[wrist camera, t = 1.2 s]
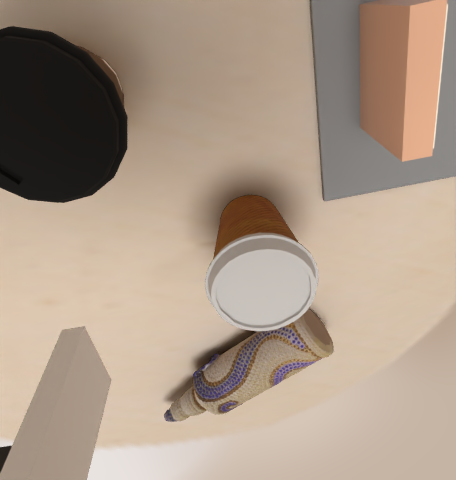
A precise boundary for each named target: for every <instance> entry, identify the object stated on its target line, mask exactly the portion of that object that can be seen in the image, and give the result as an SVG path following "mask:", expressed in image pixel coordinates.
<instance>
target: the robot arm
mask: <svg viewBox="0 0 456 480" xmlns="http://www.w3.org/2000/svg"><path fill="white" fill-rule="evenodd" d="M110 383H111V378H110V376H109V374H108V372H107V370H106V368H105V366H104V364H103V362H102V360H101V358H100V356H99V354H98V352H97V350H96V348H95V346H94V344H93V342H92V340H91V338H90V336H89V334H88V332H87V330H86V328H85V326H84V327H78V328H71V329H65V330H62V331H61V334H60V336H59V338H58V341H57V343H56V345H55V348H54V350H53V352H52V355H51V357H50V359H49V362H48V364H47V366H46V369H45V371H44V373H43V375H42V378H41V380H40V382H39V385H38V387H37V389H36V392H35V394H34V396H33V399H32V401H31V403H30V406H29V408H28V410H27V413H26V415H25V417H24V420H23V422H22V424H21V426H20V429H19V431H18V433H17V436H16V438H15V440H14V443H13V445H12V446H6V447H0V480H87V476H88V472H89V468H90V464H91V460H92V456H93V452H94V448H95V444H96V440H97V436H98V432H99V428H100V424H101V420H102V416H103V411H104V407H105V403H106V399H107V395H108V391H109V387H110Z"/></svg>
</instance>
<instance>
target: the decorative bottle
mask: <svg viewBox="0 0 456 480" xmlns="http://www.w3.org/2000/svg"><path fill="white" fill-rule="evenodd" d="M333 351H334V350H333V342H332V339H331V337H330V335H329V333H328V331H327V330H326V328H325V326H324V325H323V323H322V322H321V321H320V319H319V318H318V316H317V315H316V314H315V313H314V312H312V311H311V310H310V309H309V308H308V310H307V311H306V312H305V313H304V314H303V315H302V316H301V317H300V318H298V319H297V320H295V321H294V322H292V323H290V324H288V325H286V326H284V327H281V328H278V329H275V330H269V331H258V332H257V333H255V334H253V335H252V336H250V337H248V338H247V339H245V340H244V341H242V342H241V343H239V344H237V345H236V346H234V347H232V348H231V349H229V350H228V351H226V352H225V353H223V354H222V355H218V354H214V355H213V357H212V358H211V360H210V362H209V363H207V364H205V365H204V366H203V367H201V368H200V369H198V370H197V371H195V373H194V374H193V376H194V378H193V386H192V387H191V388H189V389H188V390H187V391H186V392H185V393H184V394H183V396H182V397H181V398H179V399H178V400H176V401H175V402H173V403H172V405H171V407H170V409H169V410H167V411H166V413H165V414H164V417H165V420H166V421H168V422H174V421H182V420H185V419H186V418H188V417H189V416H193V415H199V414H201V413H203V412H205V411H206V410H208V411H209V412H211V413H213V414H224V413H227V412H229V411H230V410H232V409H234V408H236V407H237V406H239V405H241V404H243V403H244V402H246V401H247V400H249V399H251V398H253V397H255V396H257V395H258V394H260V393H262V392H263V391H265V390H267V389H269V388H271V387H273V386H274V385H277V384H278V383H280V382H281V381H282V380H284V379H286V378H289V377H290V376H292V375H294V374H296V373H297V372H300V371H301V370H302V369H304V368H306V367H308V366H309V365H311V364H313V363H314V362H316V361H318V360H320V359H322V358H325V357H328V356H329V355H331V354H332V353H333ZM214 356H215V357H216V358H214Z"/></svg>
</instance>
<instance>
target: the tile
mask: <svg viewBox="0 0 456 480" xmlns="http://www.w3.org/2000/svg"><path fill="white" fill-rule="evenodd" d="M447 12H448V4H447V0H377V1H373V2H368V3H364V4H359V17H360V128H361V129H363V130H364V131H365V132H366V133H367V134H369V135H370V136H371V137H372V138H373V139H375V140H376V141H377V142H378V143H380V144H381V145H382V146H383V147H384V148H386V149H387V150H388V151H389V152H391V153H392V154H393V155H394V156H395V157H397V158H398V159H399V160H400V161H401V162H404V161H409V160H414V159H419V158H424V157H429V156H432V153H433V148H434V144H435V134H436V124H437V113H438V103H439V93H440V83H441V73H442V63H443V52H444V42H445V32H446V22H447Z"/></svg>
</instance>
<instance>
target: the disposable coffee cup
mask: <svg viewBox="0 0 456 480" xmlns="http://www.w3.org/2000/svg"><path fill="white" fill-rule="evenodd" d="M317 284H318V269H317V265H316V262H315V260H314V259H313V257H312V255H311V253H310V252H309V251H308V250H307V249H306V248H305V247H304V246H302V245H301V244H300V243H299V242H298V241H297V239H296V238H295V236H294V235H293V233H292V232H291V230H290V229H289V227H288V226H287V224H286V222H285V221H284V219H283V218H282V216H281V215H280V213H279V212H278V210H277V209H276V207H275V206H274V205H273V204H272V203H271V202H270V201H269V200H267V199H266V198H263V197H261V196H256V195H246V196H242V197H239V198H236V199H235V200H233V201H232V202H230V203H229V204H228V205H227V206H226V208H225V209H224V211H223V213H222V215H221V220H220V226H219V231H218V236H217V242H216V247H215V252H214V258H213V261H212V262H211V263H210V266H209V268H208V271H207V274H206V279H205V289H206V293H207V297H208V299H209V301H210V302H211V304H212V305H213V307H214V308H215V309H216V311H217V313H218V314H219V315H220V316H221V317H222V318H223V319H224V320H225V321H226V322H228V323H229V324H231V325H233V326H235V327H238V328H241V329H245V330H252V331H269V330H275V329H278V328H281V327H284V326H286V325H288V324H290V323H292V322H294V321H295V320H297V319H298V318H300V317H301V316H302V315H303V314H304V313H305V312H306V311H307V310H308V308H309V307H310V305H311V304H312V302H313V299H314V296H315V294H316V288H317Z"/></svg>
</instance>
